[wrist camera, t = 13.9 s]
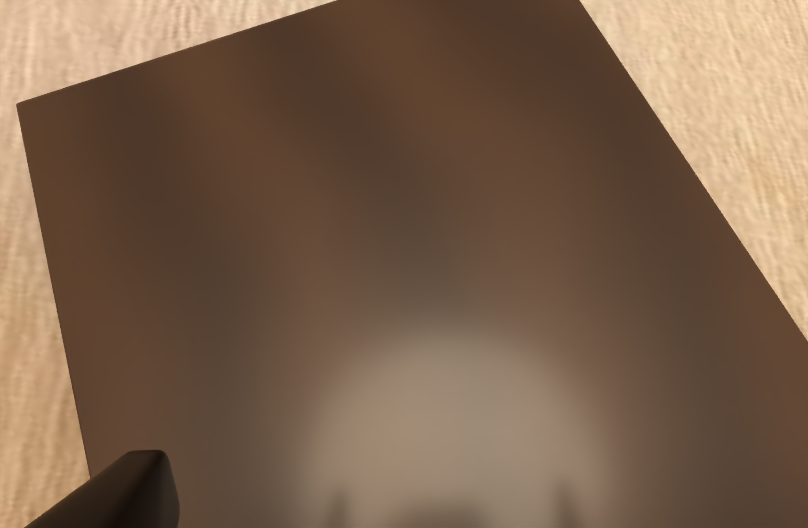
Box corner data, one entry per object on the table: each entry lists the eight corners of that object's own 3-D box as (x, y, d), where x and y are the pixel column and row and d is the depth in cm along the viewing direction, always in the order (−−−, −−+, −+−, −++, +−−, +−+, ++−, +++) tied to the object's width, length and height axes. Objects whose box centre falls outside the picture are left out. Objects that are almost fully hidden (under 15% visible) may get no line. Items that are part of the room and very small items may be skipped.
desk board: (231, 981, 14) (202, 1053, 12) (47, 135, 23) (14, 102, 21) (935, 615, 16) (1002, 629, 15) (527, -24, 25) (536, -66, 23)
